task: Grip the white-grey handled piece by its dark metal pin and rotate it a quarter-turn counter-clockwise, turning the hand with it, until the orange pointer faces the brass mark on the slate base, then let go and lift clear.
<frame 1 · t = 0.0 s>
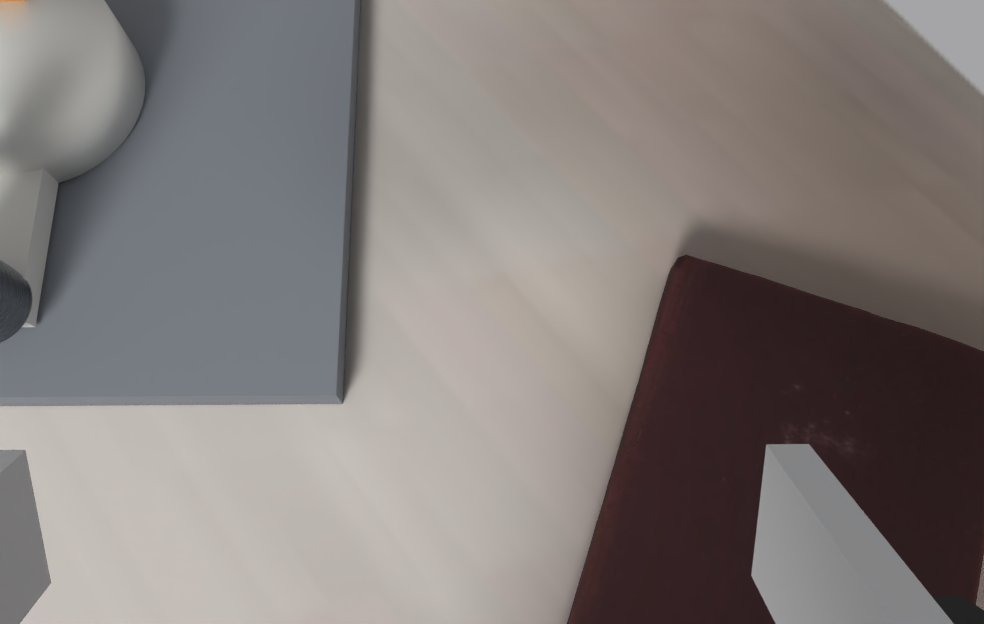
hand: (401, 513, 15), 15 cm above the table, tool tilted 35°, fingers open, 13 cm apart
dial base plate: (62, 117, 35), on the table
book: (757, 570, 30), on the table
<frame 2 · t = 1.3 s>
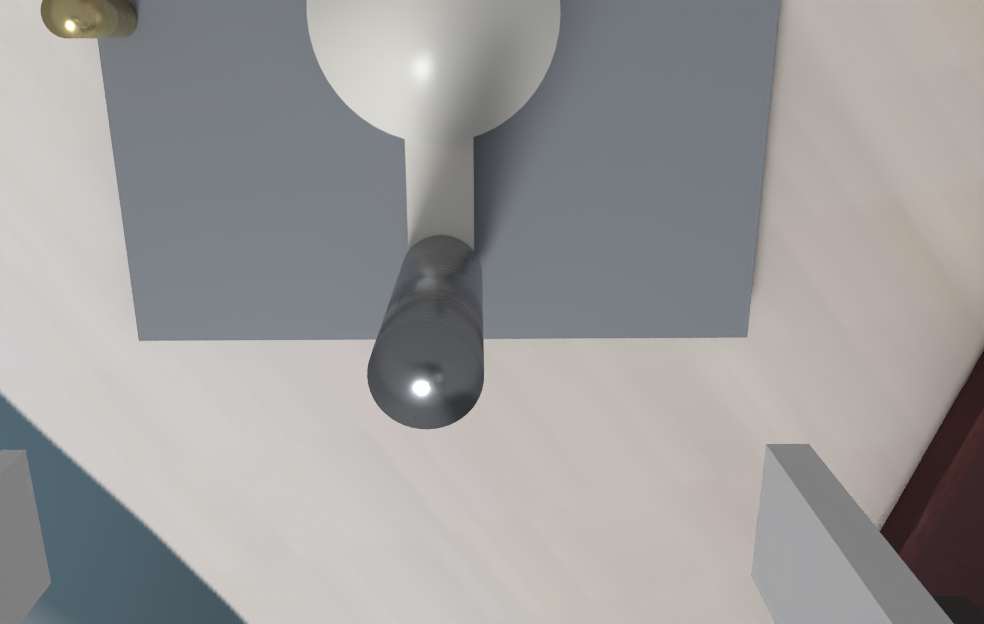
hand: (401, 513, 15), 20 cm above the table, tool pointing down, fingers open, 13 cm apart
dial base plate: (440, 18, 31), on the table
white grey handled piece: (430, 39, 24), point 7 cm above the table, hinge at 0.0°
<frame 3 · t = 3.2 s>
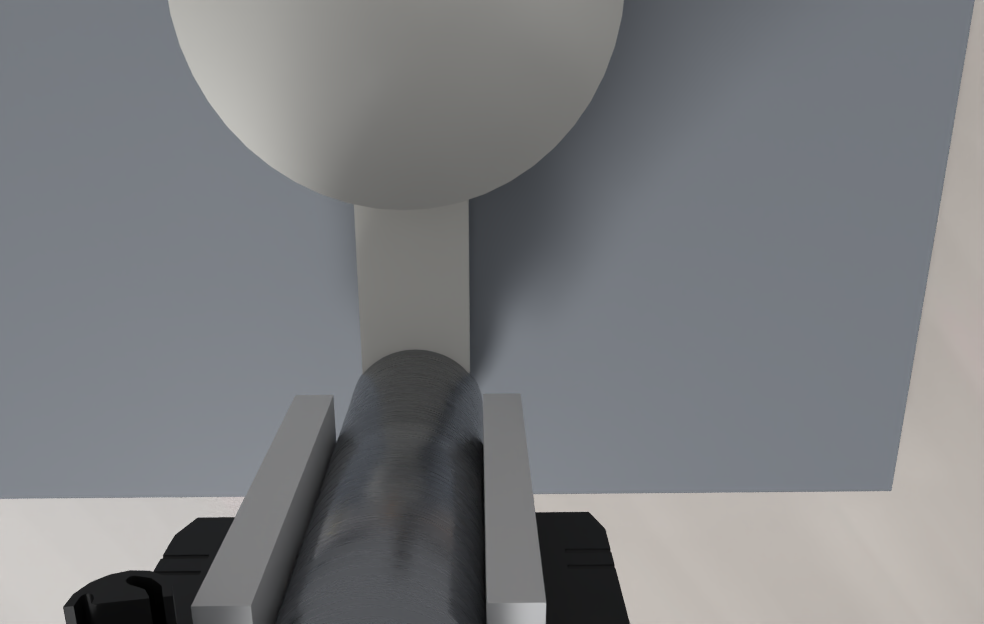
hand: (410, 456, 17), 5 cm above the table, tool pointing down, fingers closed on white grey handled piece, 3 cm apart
white grey handled piece: (383, 28, 13), point 7 cm above the table, hinge at 0.0°, touching gripper
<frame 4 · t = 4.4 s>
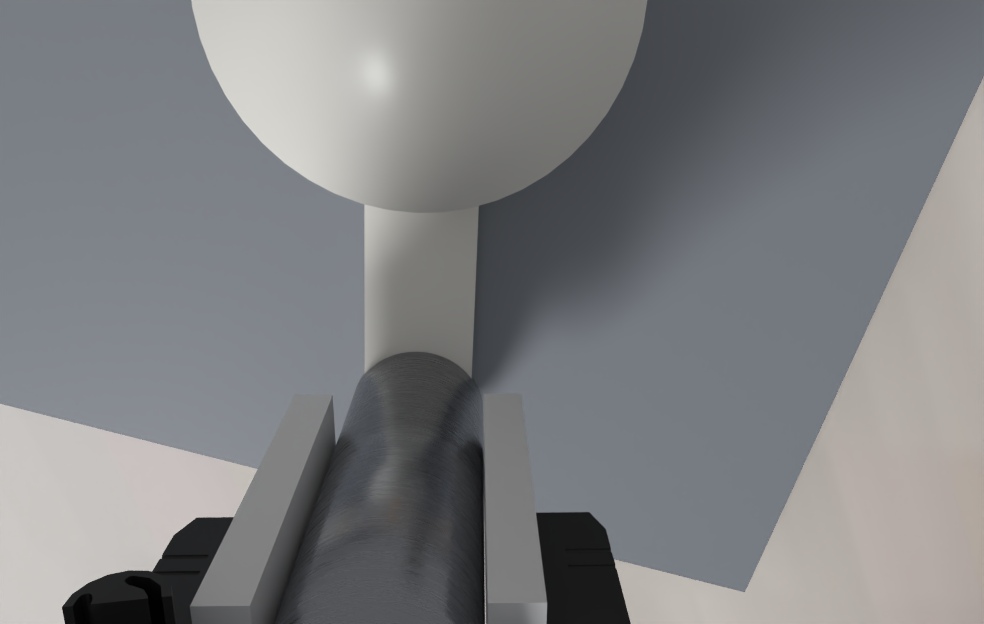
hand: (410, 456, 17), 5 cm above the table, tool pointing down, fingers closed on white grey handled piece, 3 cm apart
white grey handled piece: (407, 31, 13), point 7 cm above the table, hinge at 14.1°, touching gripper
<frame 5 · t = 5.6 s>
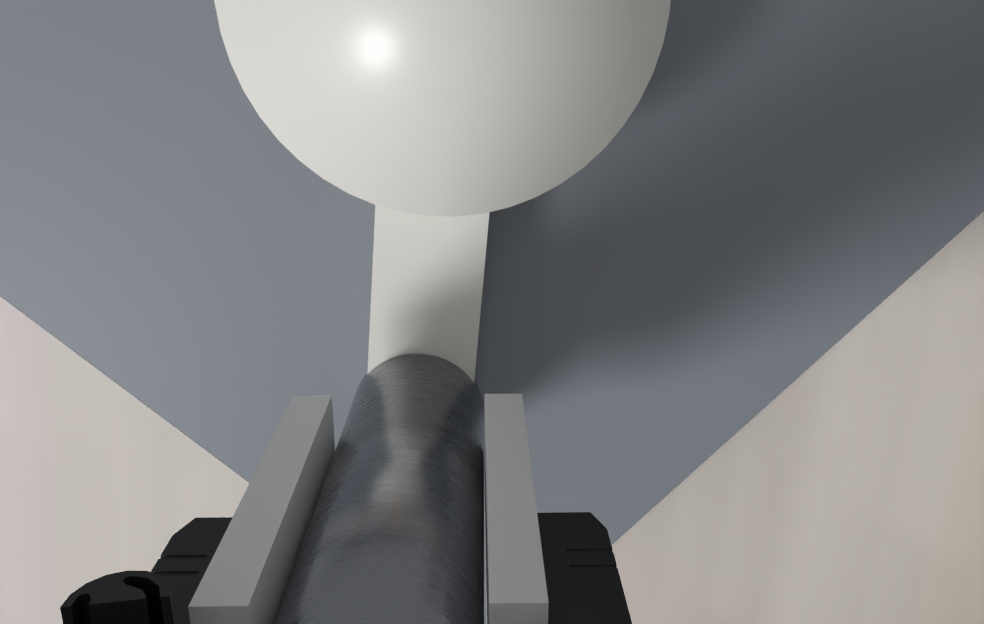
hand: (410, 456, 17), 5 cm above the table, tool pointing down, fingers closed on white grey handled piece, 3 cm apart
dial base plate: (452, 0, 19), on the table
white grey handled piece: (431, 36, 13), point 7 cm above the table, hinge at 37.6°, touching gripper
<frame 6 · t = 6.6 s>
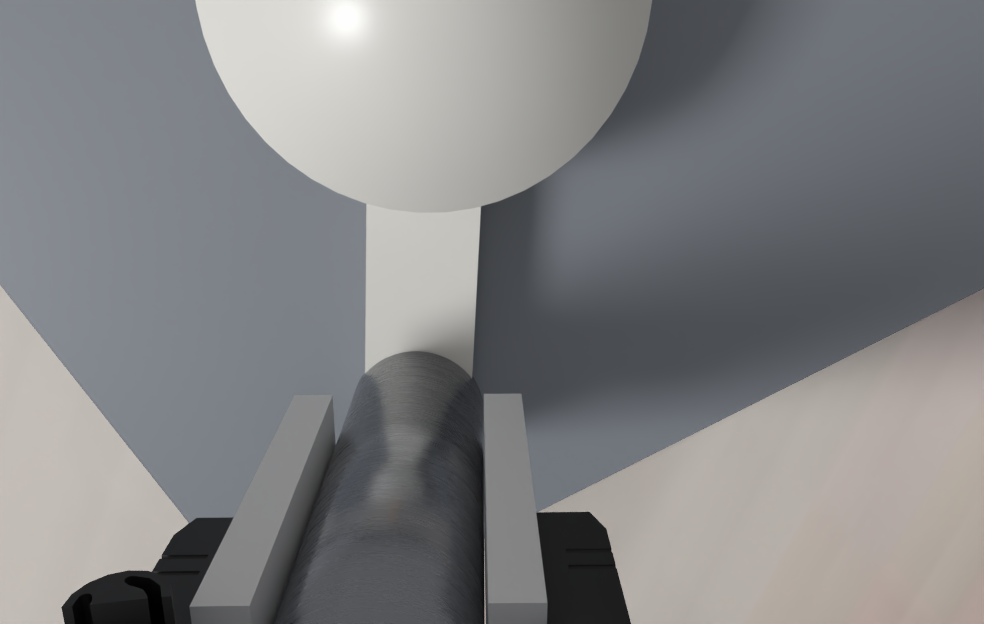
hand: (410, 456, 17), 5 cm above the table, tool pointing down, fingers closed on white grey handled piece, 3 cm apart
white grey handled piece: (411, 31, 13), point 7 cm above the table, hinge at 57.2°, touching gripper
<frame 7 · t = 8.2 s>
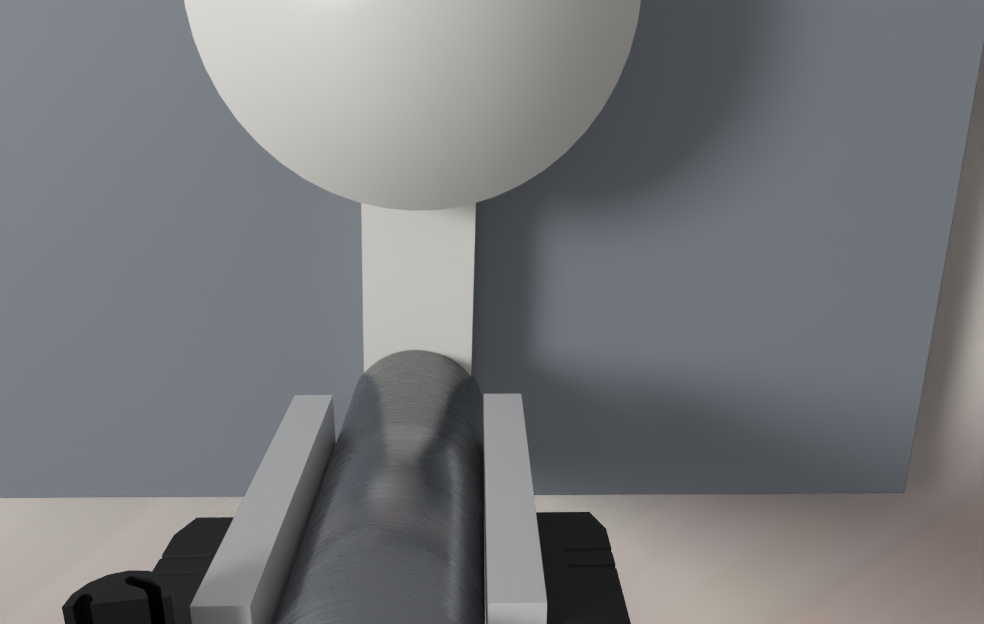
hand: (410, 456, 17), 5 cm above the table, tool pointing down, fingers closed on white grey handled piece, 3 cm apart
white grey handled piece: (399, 28, 13), point 7 cm above the table, hinge at 88.2°, touching gripper
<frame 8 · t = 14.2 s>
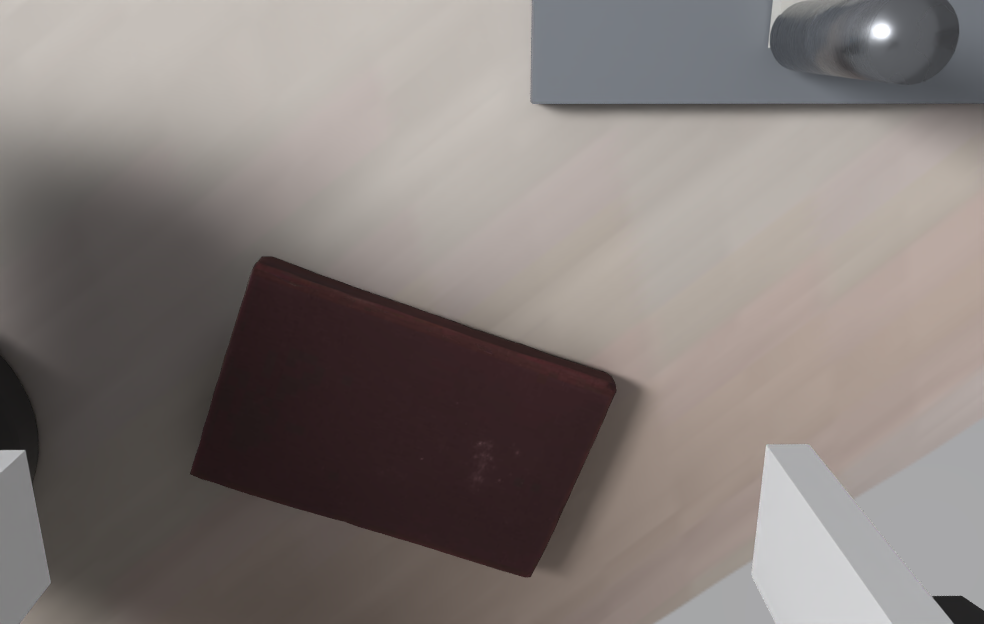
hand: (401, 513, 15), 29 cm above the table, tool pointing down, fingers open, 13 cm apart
book: (406, 409, 47), on the table
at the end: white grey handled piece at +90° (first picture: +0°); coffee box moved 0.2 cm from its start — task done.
